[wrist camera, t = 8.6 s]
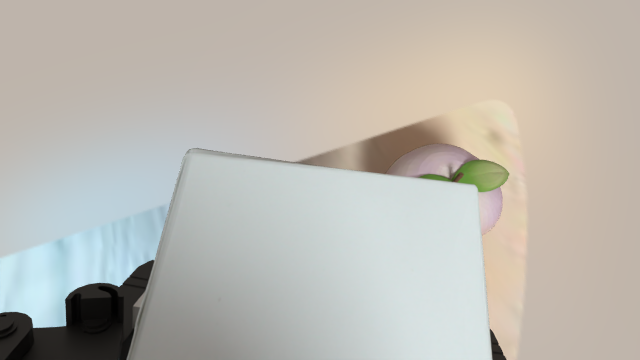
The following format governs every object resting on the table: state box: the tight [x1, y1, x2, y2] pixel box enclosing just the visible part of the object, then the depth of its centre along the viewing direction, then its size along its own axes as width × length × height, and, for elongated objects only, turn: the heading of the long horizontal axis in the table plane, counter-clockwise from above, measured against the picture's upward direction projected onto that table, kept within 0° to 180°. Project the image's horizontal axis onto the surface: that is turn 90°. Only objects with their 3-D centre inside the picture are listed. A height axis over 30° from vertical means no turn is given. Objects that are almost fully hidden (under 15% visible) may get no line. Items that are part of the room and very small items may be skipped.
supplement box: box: [127, 148, 492, 360], centre depth 14 cm, size 7×7×13 cm
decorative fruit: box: [386, 144, 509, 235], centre depth 32 cm, size 9×8×10 cm
